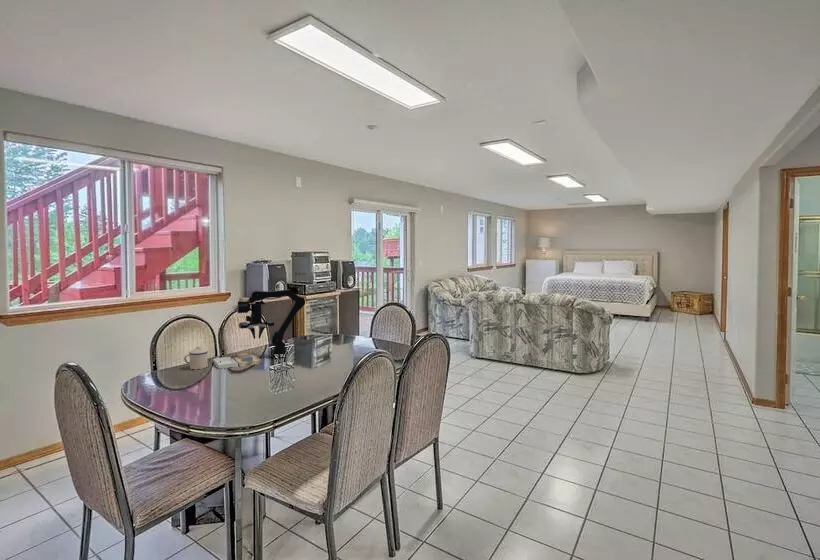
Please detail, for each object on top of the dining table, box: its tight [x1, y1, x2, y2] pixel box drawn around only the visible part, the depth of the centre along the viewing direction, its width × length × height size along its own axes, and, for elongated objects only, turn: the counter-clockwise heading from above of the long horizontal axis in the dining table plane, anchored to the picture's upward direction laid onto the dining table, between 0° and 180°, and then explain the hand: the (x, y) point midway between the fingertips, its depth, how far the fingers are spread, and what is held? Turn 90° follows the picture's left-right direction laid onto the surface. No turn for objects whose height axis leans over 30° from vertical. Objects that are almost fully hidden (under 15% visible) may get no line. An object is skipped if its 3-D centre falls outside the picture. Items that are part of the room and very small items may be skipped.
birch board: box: [232, 354, 263, 367], centre depth 246 cm, size 12×16×2 cm
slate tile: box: [241, 354, 253, 362], centre depth 242 cm, size 5×5×2 cm
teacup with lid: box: [183, 345, 209, 371], centre depth 233 cm, size 12×9×12 cm
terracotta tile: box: [237, 352, 250, 359], centre depth 249 cm, size 5×5×2 cm
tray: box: [212, 356, 239, 370], centre depth 240 cm, size 10×16×2 cm, turn 34°
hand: (256, 338), depth 252 cm, fingers open, 2 cm apart
